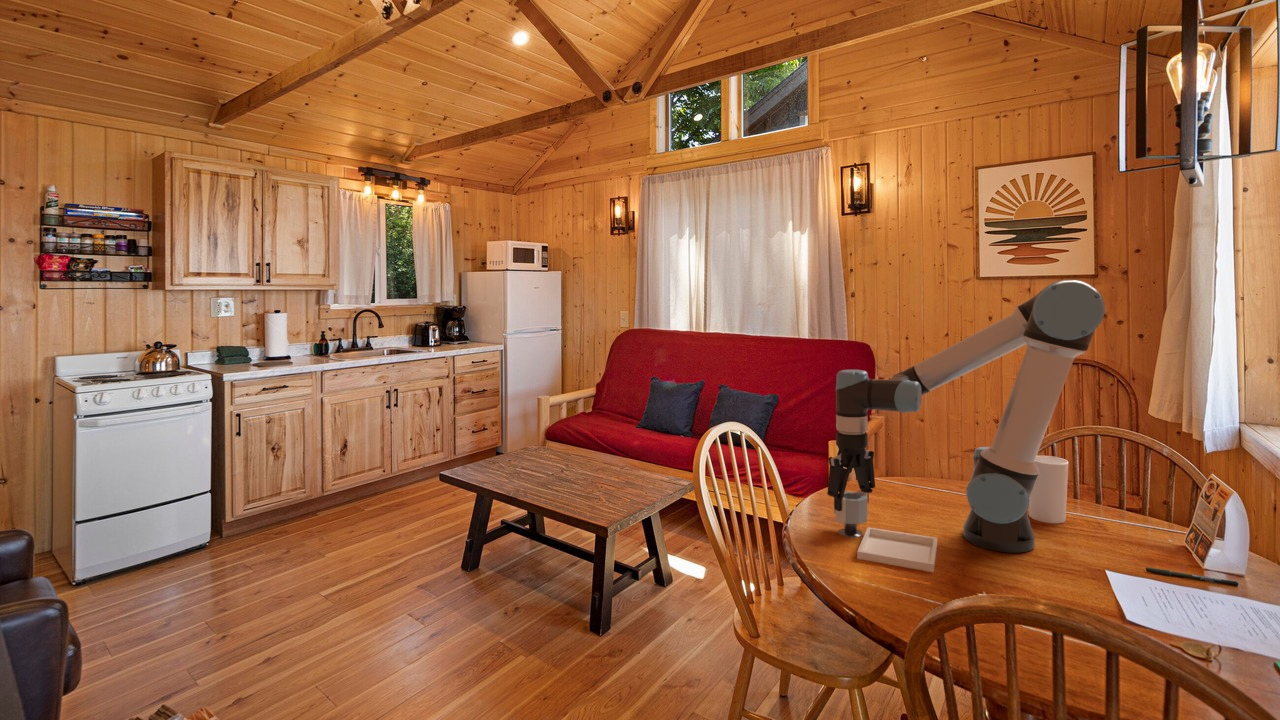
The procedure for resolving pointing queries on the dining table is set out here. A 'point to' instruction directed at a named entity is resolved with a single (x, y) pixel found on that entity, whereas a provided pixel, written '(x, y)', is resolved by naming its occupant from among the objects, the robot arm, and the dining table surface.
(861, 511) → the grey socket block
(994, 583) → the dining table surface
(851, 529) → the post
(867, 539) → the tray
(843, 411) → the robot arm
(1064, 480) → the cup
